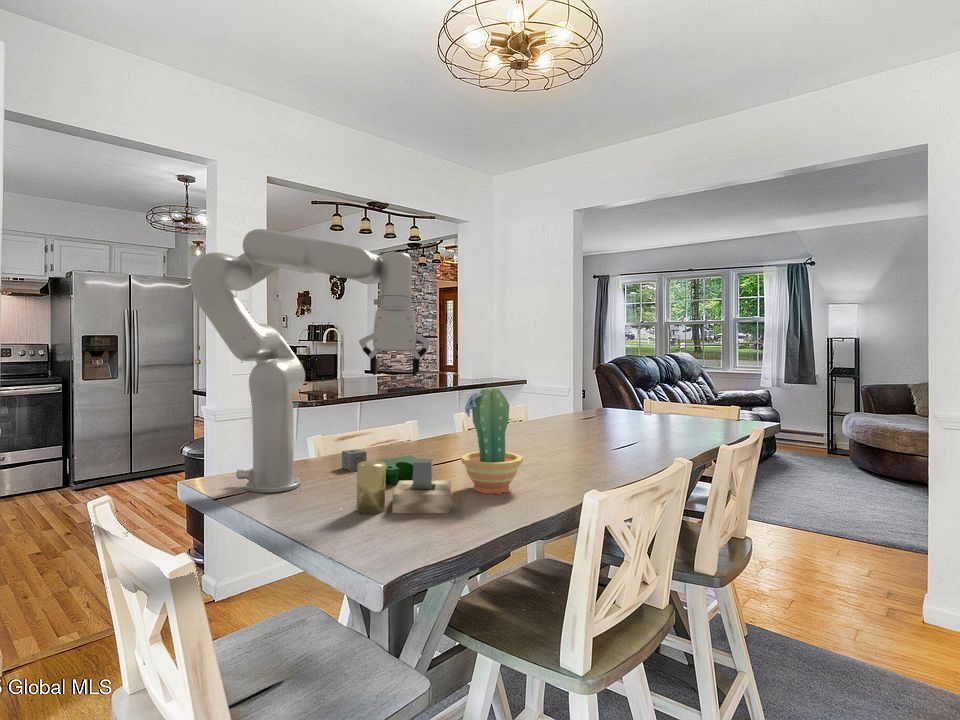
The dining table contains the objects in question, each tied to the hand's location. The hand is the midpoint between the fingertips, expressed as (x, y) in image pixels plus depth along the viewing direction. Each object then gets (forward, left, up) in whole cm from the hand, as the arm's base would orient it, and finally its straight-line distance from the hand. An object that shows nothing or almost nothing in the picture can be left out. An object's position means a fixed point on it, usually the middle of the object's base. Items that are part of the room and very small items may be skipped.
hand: (394, 374), depth 140 cm
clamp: (0, +8, -29) cm, 30 cm away
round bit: (-3, -17, -28) cm, 33 cm away
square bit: (+8, -13, -28) cm, 32 cm away
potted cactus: (+24, +1, -28) cm, 37 cm away
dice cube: (-14, +23, -29) cm, 39 cm away
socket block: (+8, -13, -28) cm, 32 cm away
